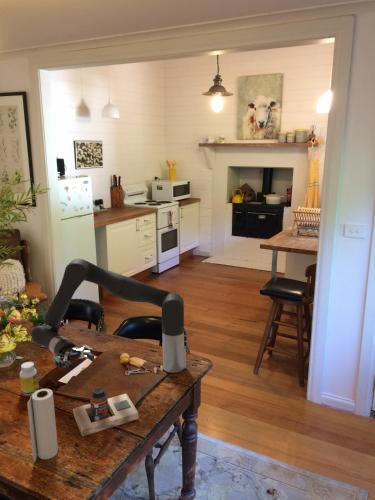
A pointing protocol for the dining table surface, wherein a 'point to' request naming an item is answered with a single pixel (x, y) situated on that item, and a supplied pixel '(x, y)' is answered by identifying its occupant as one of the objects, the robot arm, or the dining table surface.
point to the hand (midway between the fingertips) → (82, 363)
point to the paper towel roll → (42, 424)
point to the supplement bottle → (99, 404)
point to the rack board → (120, 413)
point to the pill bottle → (28, 378)
